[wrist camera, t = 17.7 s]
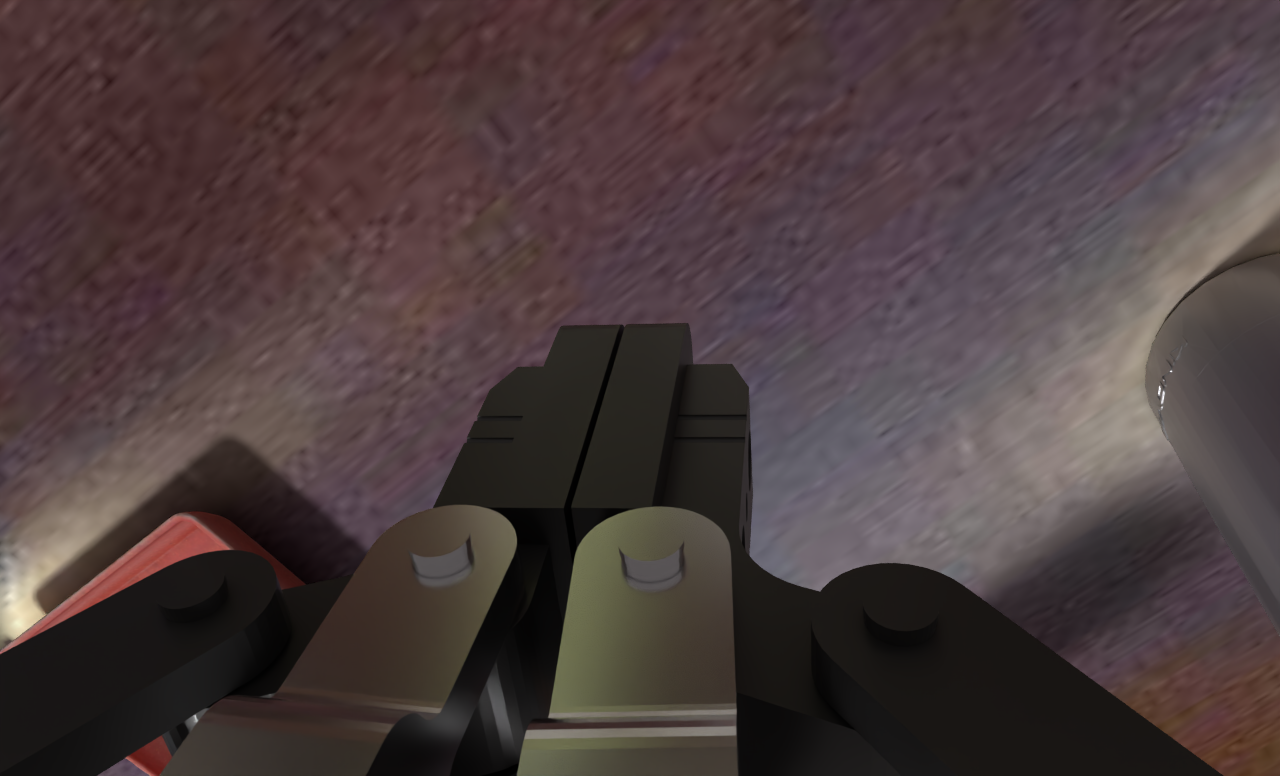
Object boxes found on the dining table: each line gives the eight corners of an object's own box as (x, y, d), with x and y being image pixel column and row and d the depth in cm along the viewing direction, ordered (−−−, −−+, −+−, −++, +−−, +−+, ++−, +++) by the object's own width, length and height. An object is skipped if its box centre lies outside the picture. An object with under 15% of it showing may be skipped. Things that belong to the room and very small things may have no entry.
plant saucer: (272, 802, 63) (248, 851, 60) (23, 619, 57) (-16, 664, 54) (478, 689, 55) (461, 738, 52) (216, 464, 49) (182, 507, 46)
